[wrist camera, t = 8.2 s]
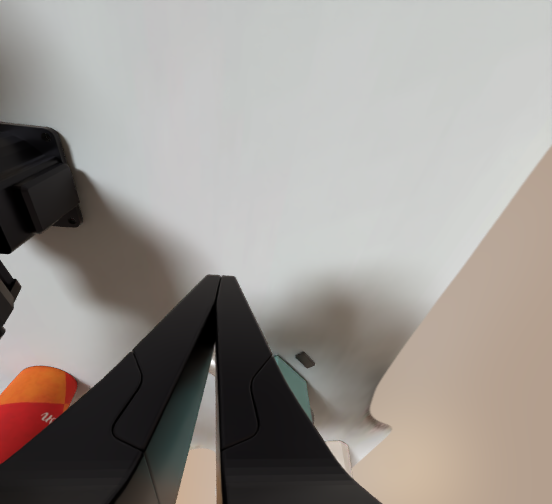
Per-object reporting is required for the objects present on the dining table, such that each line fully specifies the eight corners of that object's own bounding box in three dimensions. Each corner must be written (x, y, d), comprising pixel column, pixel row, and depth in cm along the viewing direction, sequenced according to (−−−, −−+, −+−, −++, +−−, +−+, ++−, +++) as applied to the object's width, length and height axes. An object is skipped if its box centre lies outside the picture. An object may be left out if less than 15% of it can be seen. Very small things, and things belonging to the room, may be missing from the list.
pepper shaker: (344, 437, 42) (369, 542, 32) (350, 451, 44) (375, 551, 35) (309, 444, 42) (324, 549, 33) (317, 458, 45) (333, 558, 36)
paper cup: (68, 408, 33) (-33, 594, 21) (-5, 383, 30) (-172, 588, 18) (102, 378, 30) (7, 573, 19) (26, 348, 27) (-148, 561, 15)
